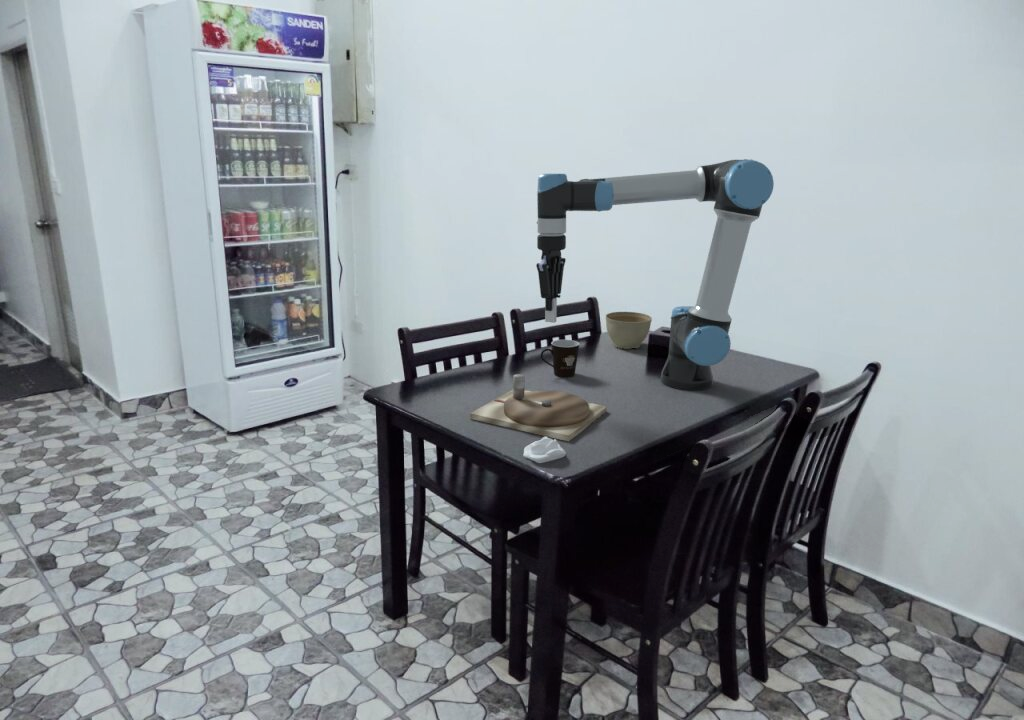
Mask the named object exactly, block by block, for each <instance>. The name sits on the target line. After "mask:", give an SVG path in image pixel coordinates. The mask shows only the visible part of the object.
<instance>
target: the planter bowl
mask: <svg viewBox="0 0 1024 720" xmlns="http://www.w3.org/2000/svg"><path fill="white" fill-rule="evenodd" d="M652 320H653V318H652V317H651V315H649V314H645V313H641V312H634V311H613V312H609V313H607V314H605V327H606V331H607V335H608V336H609V339H610V340H611V341H612V345H613V346H614V347H615V348H617V347H618V348H617V349H622V348H624V349H623V350H631V349H630V348H636V349H638V348H637V347H639V346H640V347H641V346H642V343H643V342H644V341H645V339H646V338H647V336H648V335H649V332H650V329H651V324H652ZM640 347H639V348H640Z"/></svg>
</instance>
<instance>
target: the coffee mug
mask: <svg viewBox="0 0 1024 720" xmlns="http://www.w3.org/2000/svg"><path fill="white" fill-rule="evenodd" d="M550 345H551V349H550V348H545V349H543V350H542V351H541V352H540V358H541V360H542V362H545V363H546V364H547V365H549V366H550V367H552V368H553V375H554V376H556V377H558V378H567V379H568V378H572V377H575V375H576V370H577V369H576V368H577V362H578V356H579V350H580V342H578V341H576V340H571V339H556V340H553V341H551V343H550ZM547 351H549V352H550V353H551V355H552V364H551V362H548V361H547V360H546V359H544V357H543V355H544V354H545V352H547Z"/></svg>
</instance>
